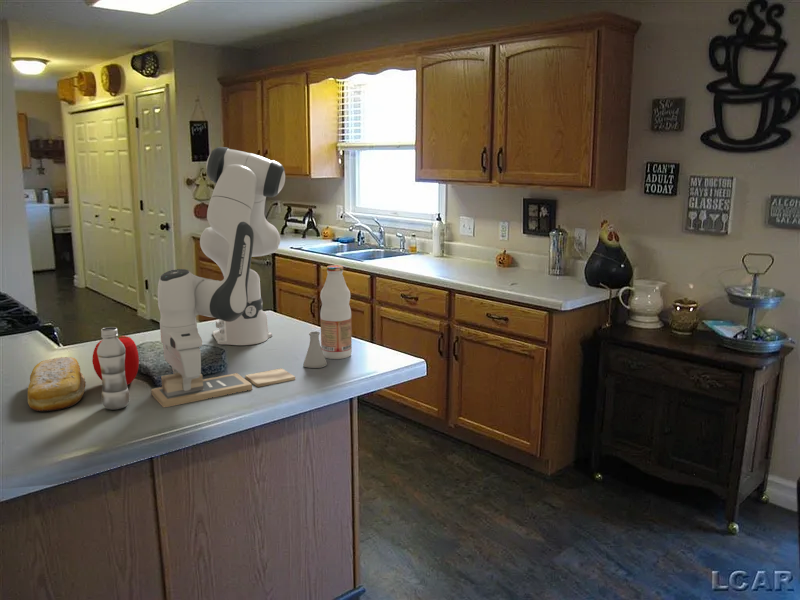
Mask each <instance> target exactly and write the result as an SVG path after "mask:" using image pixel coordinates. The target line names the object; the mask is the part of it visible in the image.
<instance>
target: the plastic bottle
mask: <svg viewBox="0 0 800 600" xmlns="http://www.w3.org/2000/svg"><path fill="white" fill-rule="evenodd" d="M100 332H101V335H100V337H101V340H102V341H101V340H100V341H101V343H100V344H99V346H98V349H97V355H98V359H99V363H100V367H101V373H102V380H101V382H102V383H101V384H102V385H101V398H100V399H101V403H102V406H103V407H104V408H105V409H106V410H111V411H112V410H120V409H123V408H126V407H127V406H128V405H129V403H130V400H131V399H130V398H131V395H130V391H129V388H128V385H127V382H126V377H125V347H124V344H123V343H122V342H121V341H120V340H119V339H118V338H117V336H119V333H118V332H119V331H118V327H116V326H109V327H108V326H107V327H103V328H101V329H100Z"/></svg>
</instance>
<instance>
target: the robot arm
mask: <svg viewBox="0 0 800 600" xmlns="http://www.w3.org/2000/svg"><path fill="white" fill-rule="evenodd" d="M205 167H206V175H207V177H208V178H209V180H210V181H211V182H213V183H214V184H215V186H214V189H213V191H212V193H211V198H210V199H209V203H208V207H207V210H206V211H207V212H206V219H207V222H208V224H209V227H205V228H204V230H203V231H202V233H201V235H200V237H199V247H200V248H201V251H202V253H203V254H204V255H205V256H206V257H207V258H208V259H210V260H212V261H213V262H214V263H216V265H217V266H218V267H219V269H220V271H221V273H222V276H223V279H222V280H218V279H217V280H215V279H212V278H206V277H201V276H198V275H196V274H193V272H191V271H190V270H188V269H185V268H177V269H172V270H171V269H170V270H168V271H166V272H164V273H162V274H161V275H160V276H159V278H158V284H157V306H158V311H159V312H160V320H159V330H160V333H159V334H160V342H161V344H162V345H163V358H164V361H165V362H166V363H167V364H168V365H169V366H171V368H172V373H173V374H175V373H179V374H181V375H182V378H183V383H182V389H183V390H184V391H187V390H190V389H191V380H192V379H195V378H199V377H200V374H202V352H201V349H200V347H202V346H203V340H202V337H201V335H200V334H199V330H198V325H197V324H198V323H197V321H198V320H197V317H198V316H204V317H209V318H215V319H218V320H216V321H215V328H216V329H215V330H212V336H213V337H214V339H215V341H216V343H217V345H230V346H231V345H232V346H251V345H256V344H260V343H264V342H266V341H267V340H268V339H269V338H271V337H273V333H272V332H270V331H269V325H268V315H267V312H266V311H264V310H263V304H264V303H263V298H262V296H261V282H260V281H261V278H260V275H259V274H258V272H256V271H255V270H254V269H252V268H251V263H252V259H253V258H254V257H264V256H267V255H271V254H274V253H276V252H277V250H278V249H279V247H280V243H281V236H280V232H279V231H278V228H277V227H276V226H275V225H274V224H272V223H270V222H269V221H268V220H267V218H266V215H265V208H266V199H267V198H274V197H276V196H277V195H279V194H280V192H281V191H282V189H283V188H284V186H285V182H286V171H285V167H284V166H283V164H282V163H280V162H279V161H276V160H275V159H272V160H271V159H269V158H267V157H264V156H262V155H259V154H256V153H252V152H246V151H242V150H237V149H232V148H229V147H228V146H227V147H226V146H225V147H224V146H218V147H216V148H214V149H212V151H211V153H210V154H209V155H208V158H207V160H206V166H205ZM252 257H253V258H252Z"/></svg>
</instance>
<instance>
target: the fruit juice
mask: <svg viewBox="0 0 800 600" xmlns="http://www.w3.org/2000/svg"><path fill="white" fill-rule="evenodd" d="M343 272H344V266H343V265H340V264H339V265H337V264H336V265H334V264H333V265H328V266H326V273H327V275H326V279H325V282H324V284H323V287H322V289H321V291H320V297H319V298H320V300H321V303H322V304H321V307H320V346H321V349H322V351H323V354H324V356H325V359H329V360H341V359H343V360H344V359H348V358H349V357H351V355H352V344H353V343H352V342H353V340H352V309H351V306H350V300H351V291H350V289H349V287H348V286H347V283H346V280H345V277H344V275H343Z"/></svg>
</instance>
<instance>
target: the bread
mask: <svg viewBox="0 0 800 600" xmlns="http://www.w3.org/2000/svg"><path fill="white" fill-rule="evenodd" d="M30 373H31V374H30V375H29V384H28V387H27V404H28V405H29V408H30V409H32V410H33V411H36V412H53V411H54V412H55V411H60V410H64V409H68V408H70V407H72V406H74V405H76V404H77V403H79V402H80V401H81V400H82V399H83V395H85V391H86V383H87V382H86V379H85V377H84V375H83V373H82V372H81V366H80V364H79V361H78V360H77V359H76V358H75V357H71V356H60V357H54V358H49V359H46V360H42V361H40V362H38V363H37V364H36V365H34V367H33V369H32V372H30Z"/></svg>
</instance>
